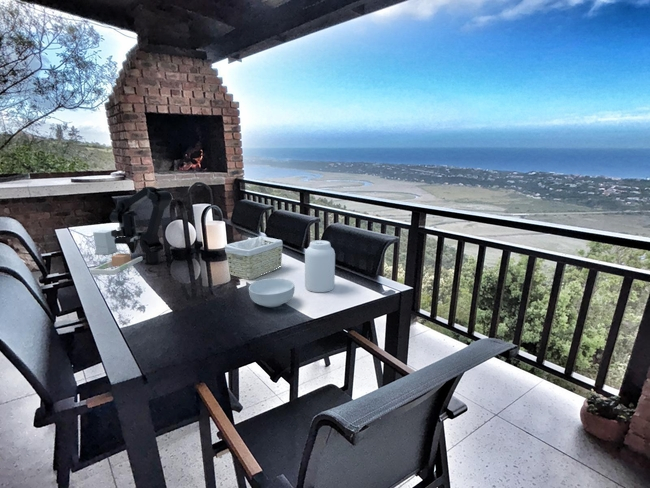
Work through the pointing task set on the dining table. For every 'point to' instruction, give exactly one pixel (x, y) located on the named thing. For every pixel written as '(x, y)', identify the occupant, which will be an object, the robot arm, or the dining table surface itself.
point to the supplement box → (104, 242)
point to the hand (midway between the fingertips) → (133, 253)
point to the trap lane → (102, 267)
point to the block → (120, 259)
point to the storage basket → (254, 257)
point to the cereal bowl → (271, 291)
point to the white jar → (319, 266)
